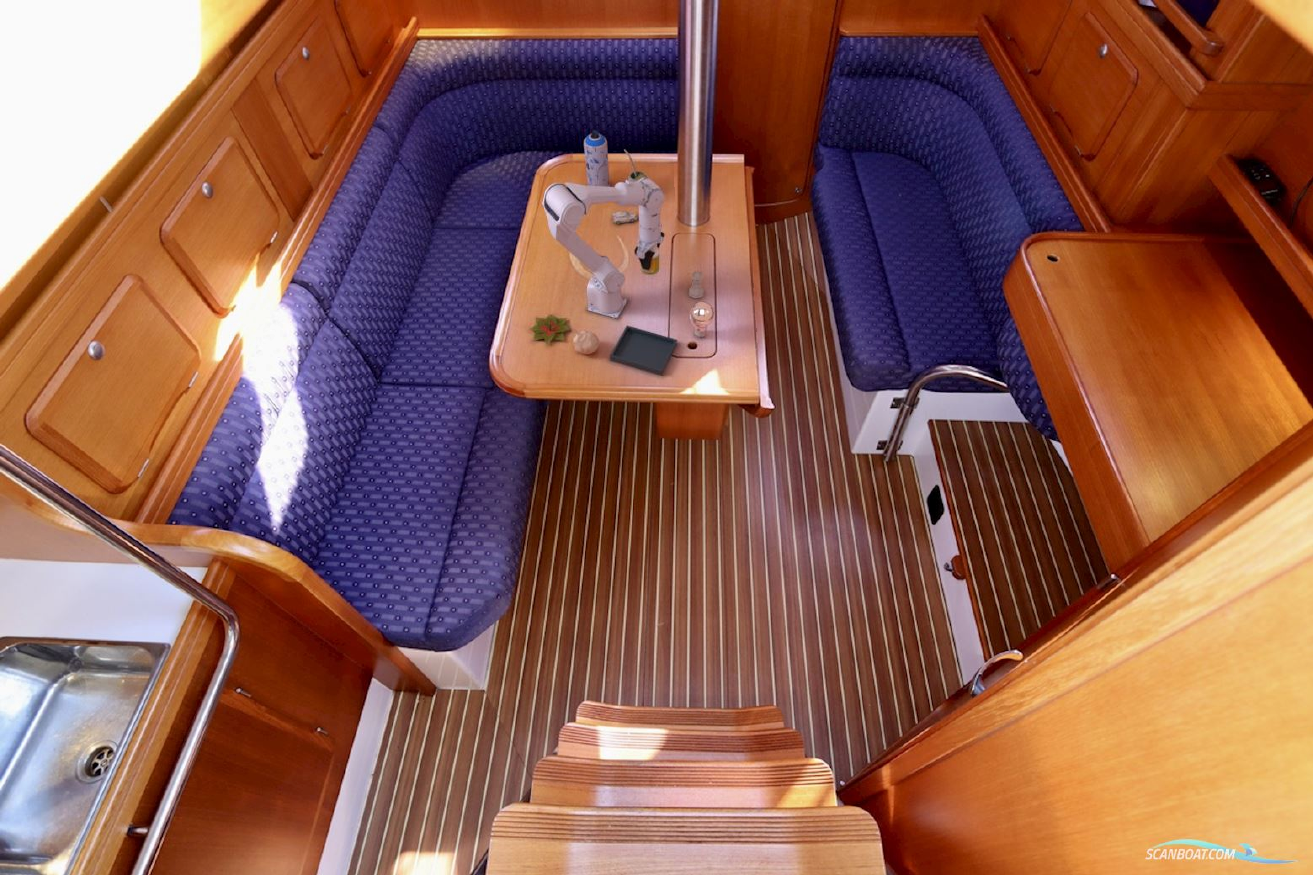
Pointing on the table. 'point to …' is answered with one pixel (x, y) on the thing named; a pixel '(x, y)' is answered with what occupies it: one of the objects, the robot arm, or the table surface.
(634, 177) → the mate gourd
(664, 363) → the tray
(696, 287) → the rook chess piece
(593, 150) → the aerosol can
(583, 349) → the garlic bulb
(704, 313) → the light bulb
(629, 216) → the toy car
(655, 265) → the supplement bottle
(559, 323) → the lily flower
